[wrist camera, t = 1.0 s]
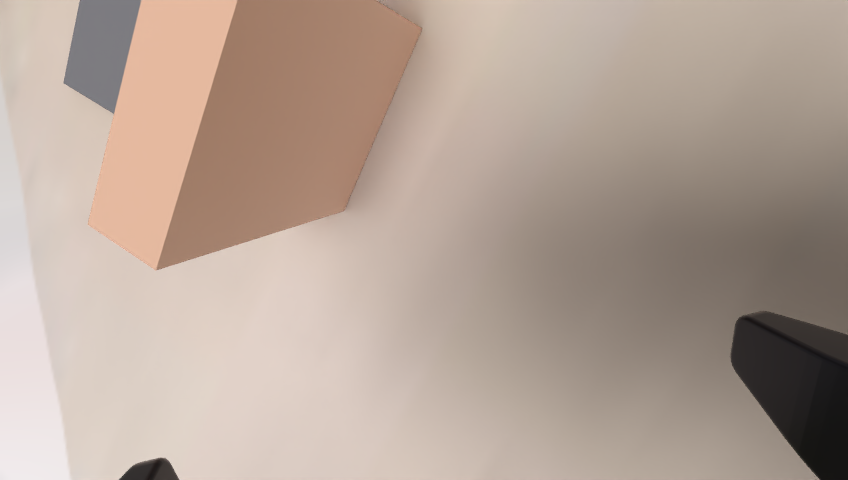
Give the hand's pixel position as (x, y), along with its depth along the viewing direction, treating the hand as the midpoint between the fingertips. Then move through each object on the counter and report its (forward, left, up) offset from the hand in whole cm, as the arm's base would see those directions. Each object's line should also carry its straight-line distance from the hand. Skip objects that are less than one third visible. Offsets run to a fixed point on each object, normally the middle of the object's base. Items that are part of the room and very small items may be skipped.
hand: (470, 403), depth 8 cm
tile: (+9, -2, -12) cm, 15 cm away
